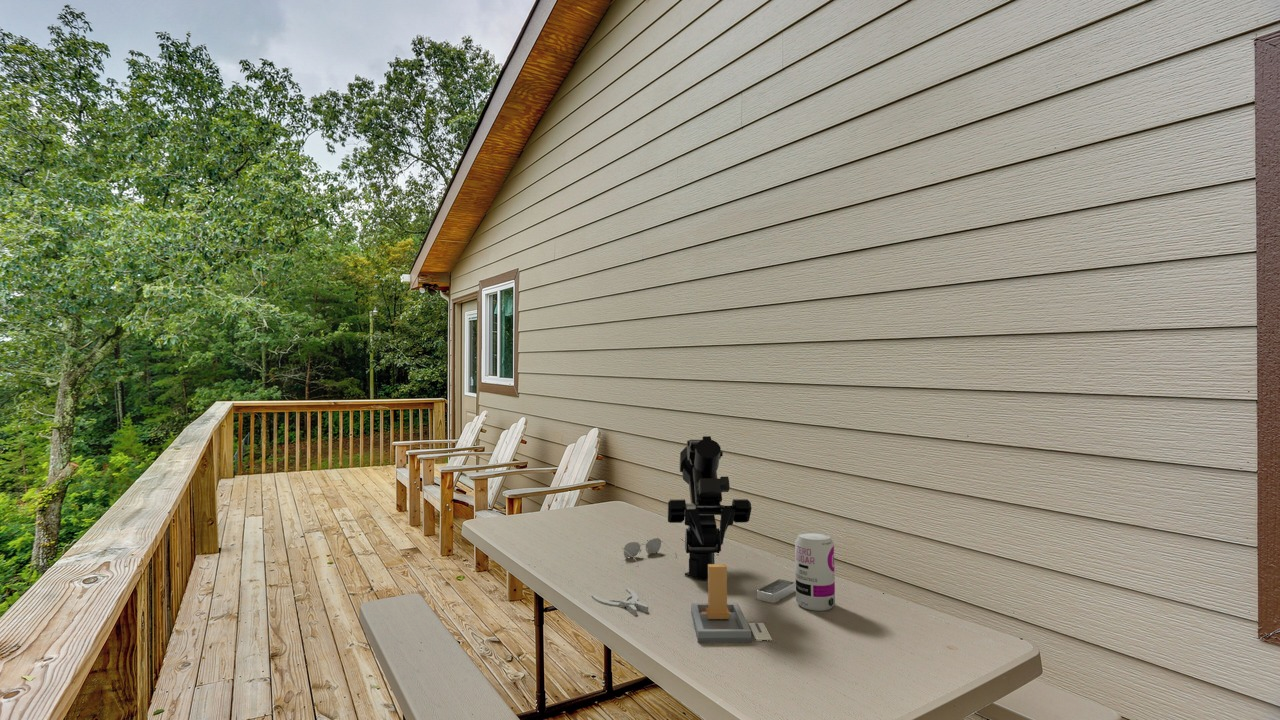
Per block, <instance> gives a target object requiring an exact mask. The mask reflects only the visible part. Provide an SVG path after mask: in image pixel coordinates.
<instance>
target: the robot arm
mask: <svg viewBox="0 0 1280 720" xmlns="http://www.w3.org/2000/svg"><path fill="white" fill-rule="evenodd" d="M723 452H724V451H722V448H721V445H720V444H719V443H718V442H717V441H715V440H714V439H712V437H711V436H707V435H703V436H702V439H689V440H687V441H686V446H685V447H684V448H683V449H682V450H681V451H680V452H679V473H681V476H682V480H683V481H684V482H685V483H686V484H688V489H689V497H690V503H686V499H682V498H681V499H677V498H676V499H673V498H672V499H669V501H667V522H668V523H670V524H671V523H672V524H677V523H678V524H679V523H680V524H681V523H684V525H685V526H687V528H685V535H684V550H685V553H686V554H689V558H688V571H687V572H684V576H685V577H689V578H693V579H696V580H701V581H708V564H715V554H720V552H722V546H723V544H724V539H725V536H726V535H725V534H726V532H727V530H728V528H729V526H733V525H734V523H736V524H737V523H741V524H743V523H748V522H749V521H750V518H751V514H752V504H751V501H750V500H749V499H748V498H744V499H743V498H738V499H737V498H736V499H734V498H733V499H732V502H731V505H725V504H721V503H722V502H723V493H729V492H730V489H731V488H730V478H729V476H720V477H719V478H718V472H717V470H718V468H719V465H720V460H721V457H723V455H724V453H723ZM715 516H720V521H719V528H718V526H717V522H716V521H717V520H716V517H715Z"/></svg>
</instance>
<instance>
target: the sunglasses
mask: <svg viewBox="0 0 1280 720" xmlns="http://www.w3.org/2000/svg"><path fill="white" fill-rule="evenodd" d="M662 543H663V544H664V545H665V546H667V547H668V548H669V549H671V547H670V546H669V545H668V544H667V543H666V542H665V541H663V540H661V539H660V538H658V537H654V538H651V539H648V541H647V542H646V543H642V544H640V543H639V542H637V541H630V542H627V543H626V544H625V545H624V546H623V547H622V550H623V556H624V558H625V559H626V558H627V559H629V558H628V557H633V560H635V562H636V564H637V566H638V567H639V566H640V565H639V562H638V560H637V559H636V557H637V555H638V554H640V553H641V552H642V548H641V546H644V545H645V551H646V553H647V554H648V555H652V554H651V553H654V554H657V553H656V552H658V553H659V551H660V549H661V546H662ZM672 551H673V552H674V553H675V559H676V558H677V559H678V557H677V552H676V551H675V550H674V549H672ZM634 556H635V557H634Z"/></svg>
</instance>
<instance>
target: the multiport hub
mask: <svg viewBox="0 0 1280 720" xmlns="http://www.w3.org/2000/svg"><path fill="white" fill-rule="evenodd" d="M793 593H796V581H795V582H794V581H790V580H785V579H781V578H779V579H776V580H774V581H772V582H770V583H768V584H766V585H764V586H762V587H760V588H758V589H756V600H759V601H762V600H763V602H766V601H768V602H767V603H770V602H772V603H771V604H775V603H776V601H777V602H779V601H780V599H781V600H782V599H784V598H787V596H789V595H791V594H793ZM778 600H779V601H778ZM774 602H775V603H774Z"/></svg>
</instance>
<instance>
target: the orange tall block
mask: <svg viewBox="0 0 1280 720" xmlns="http://www.w3.org/2000/svg"><path fill="white" fill-rule="evenodd" d="M727 569H728V568H727V565H726V564H725V563H714V564H708V580H707V601H708V602H707V603H708V608H706V615H707V618H708V619H730V613H729V610H728V608H727V603H728V575H727V573H728V572H727Z"/></svg>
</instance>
